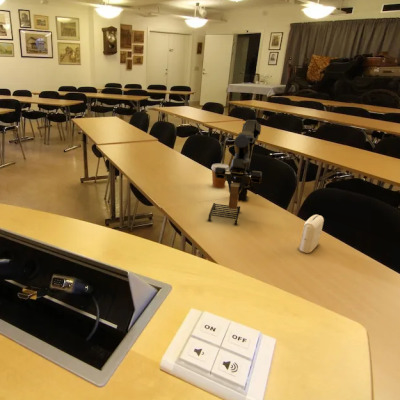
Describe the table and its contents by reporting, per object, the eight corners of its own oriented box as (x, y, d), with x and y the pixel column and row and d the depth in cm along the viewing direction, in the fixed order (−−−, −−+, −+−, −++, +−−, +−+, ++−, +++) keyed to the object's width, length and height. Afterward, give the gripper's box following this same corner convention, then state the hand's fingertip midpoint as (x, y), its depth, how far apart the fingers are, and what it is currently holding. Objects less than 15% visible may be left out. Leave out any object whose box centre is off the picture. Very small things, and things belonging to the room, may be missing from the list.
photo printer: (309, 254, 113) (316, 223, 108) (296, 250, 116) (303, 219, 111) (319, 244, 119) (327, 214, 115) (307, 240, 122) (314, 210, 118)
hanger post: (229, 205, 138) (231, 182, 134) (237, 206, 137) (240, 183, 132) (227, 208, 135) (230, 184, 131) (236, 209, 134) (239, 185, 130)
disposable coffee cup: (220, 190, 172) (223, 169, 167) (206, 186, 179) (207, 165, 174) (230, 186, 178) (233, 165, 173) (216, 182, 184) (218, 162, 180)
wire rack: (213, 208, 151) (213, 202, 150) (239, 212, 147) (240, 206, 145) (208, 221, 139) (208, 214, 138) (236, 225, 135) (237, 219, 134)
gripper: (217, 148, 134) (209, 181, 129) (265, 152, 126) (258, 187, 121) (219, 161, 143) (212, 192, 139) (264, 166, 136) (257, 199, 131)
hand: (234, 193), depth 132 cm, fingers closed on hanger post, 3 cm apart
